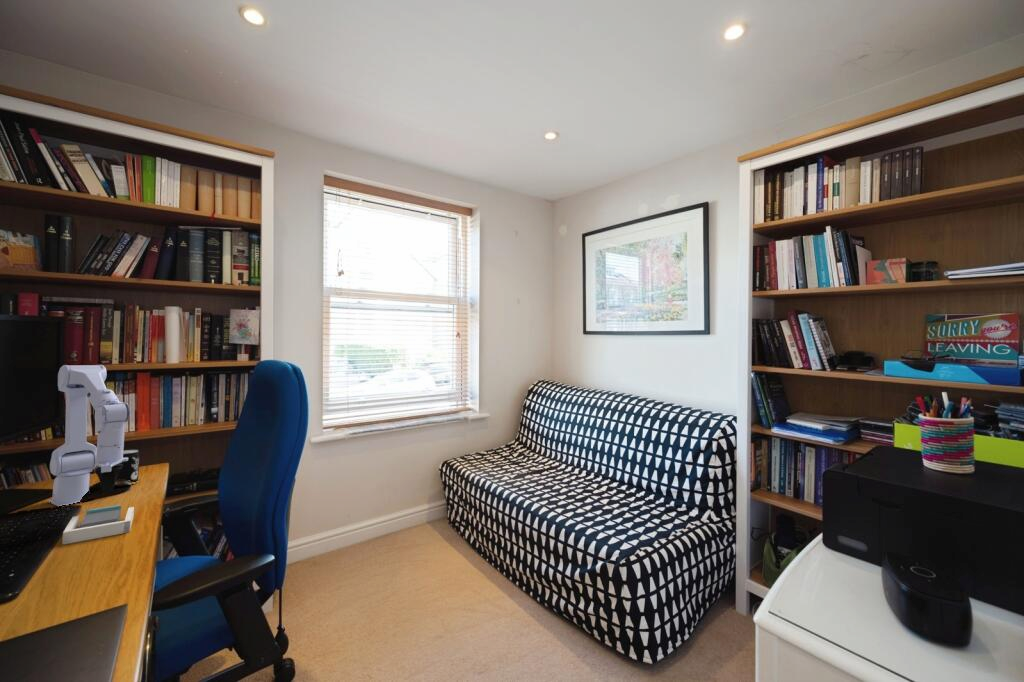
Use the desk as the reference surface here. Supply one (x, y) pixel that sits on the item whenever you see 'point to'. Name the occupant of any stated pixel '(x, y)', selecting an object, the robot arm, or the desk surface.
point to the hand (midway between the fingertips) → (107, 491)
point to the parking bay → (96, 529)
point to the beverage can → (130, 466)
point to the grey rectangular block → (101, 516)
